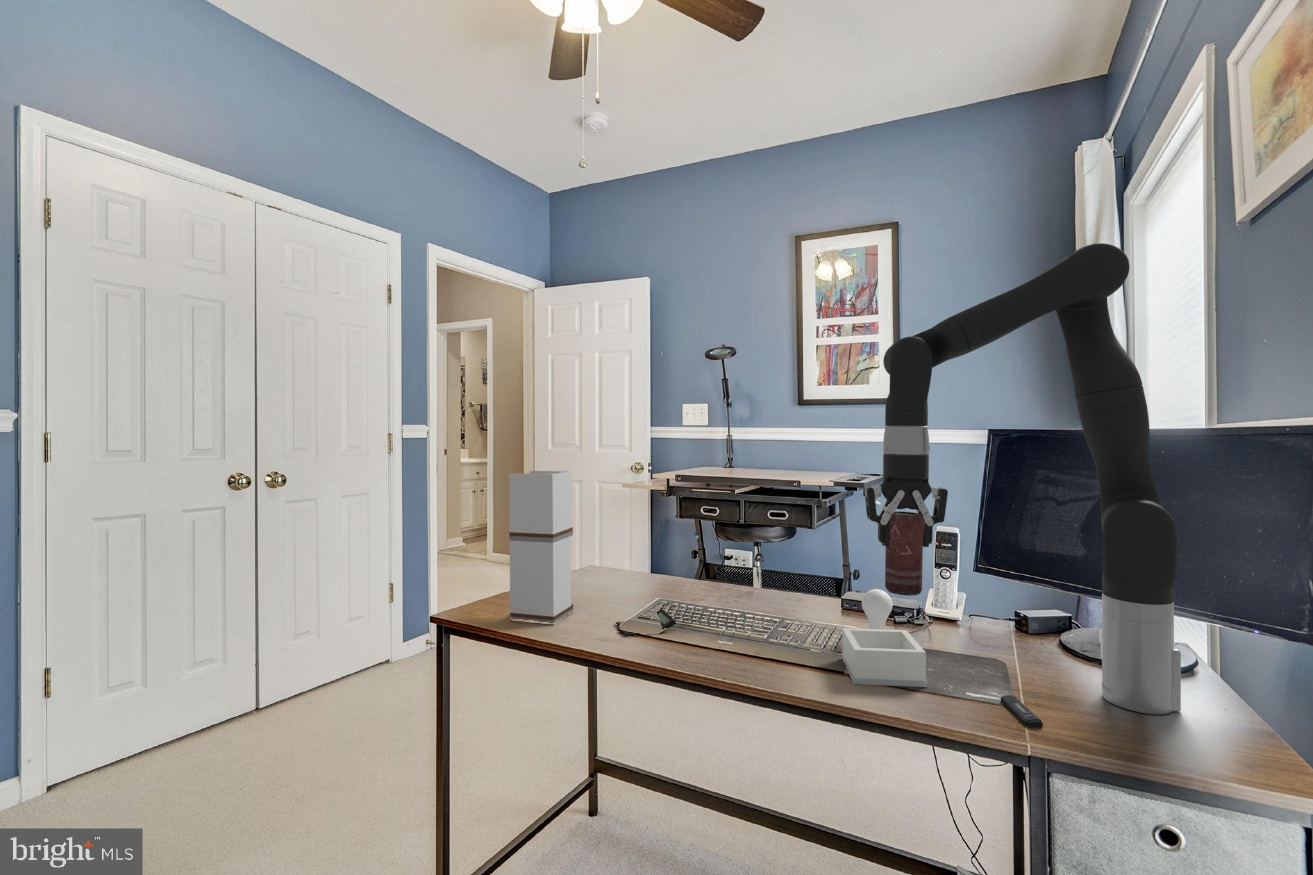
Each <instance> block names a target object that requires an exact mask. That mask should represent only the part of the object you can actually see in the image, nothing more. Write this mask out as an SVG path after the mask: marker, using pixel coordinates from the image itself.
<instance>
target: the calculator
mask: <svg viewBox="0 0 1313 875" xmlns="http://www.w3.org/2000/svg"><path fill="white" fill-rule="evenodd" d="M655 613H657V615H658V617H659V619H660V620H661V621H660V622H661V626H662V629H664V628H668V629H670V628H671V627H673V626H675V625H676V624H677V621H676V620H675V619H674V618H673V617H672V616H671V615H670V614H669V613H668V612H666V611H665V610H664V609H663V608H661V609H659V610H658V611H657V612H655ZM621 622H622V621H616V622H615V625H616V624H617V625H618V626H620V624H621ZM617 625H616V626H617ZM623 633H624V634H623ZM623 633H622V634H623V635H625V636H634V635H637V634H639V633H633V632H626V631H623ZM625 636H624V637H625ZM634 637H635V636H634Z"/></svg>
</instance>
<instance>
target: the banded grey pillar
mask: <svg viewBox="0 0 1313 875" xmlns="http://www.w3.org/2000/svg"><path fill="white" fill-rule="evenodd" d="M573 492H574V491H573V471H571V470H570V471H568V470H567V471H566V470H565V471H564V470H563V471H562V470H560V471H559V470H529V473H516V472H515V473H514V472H513V473H508V510H509V512H508V513H509V514H508V516H509V517H508V520H509V521H508V522H509V524H508V527H509V528H508V529H509V534H508V535H509V537H508V538H509V611H510V612H509V617H510V618H512V619H523V620H534V621H539V622H549V623H555V622H557V621H558V620H560V619H562V618H563V617H565V616H566V615H568V614H569V613H571V612H572V611H574V604H573V603H572V542H574V535H573V534H574V529H573V528H574V527H573V526H574V523H573V522H574V520H573V519H574V518H573V517H574V512H573V511H574V507H573V505H574V504H573V498H574V497H573V495H574V493H573ZM510 618H509V619H510Z"/></svg>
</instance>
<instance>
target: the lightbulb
mask: <svg viewBox="0 0 1313 875" xmlns="http://www.w3.org/2000/svg"><path fill="white" fill-rule="evenodd" d="M861 606H862V610H863V612H864V613H865V615H866V618H867V621H868V627H869V628H868V629H883V630H886V623H887V620H888V618H889V616H890V614H891V613H892V610H893V600H892V598H891V596H890V595H889V594H888V593H887V592H886V591H884V590H883V589H879V588H872V589H870V590H868V591H867V592H865V593H864V594H863V596H862V599H861Z"/></svg>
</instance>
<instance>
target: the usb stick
mask: <svg viewBox="0 0 1313 875" xmlns="http://www.w3.org/2000/svg"><path fill="white" fill-rule="evenodd" d="M1000 701H1001V703H1002V704H1003V705H1004V706H1005V707H1006V708H1007V709H1008V710H1009V711H1010V712H1011V713H1012V714H1014V716H1015V717H1016V718H1018V720H1020V722H1021V723H1023V725H1024V726H1025V727H1028V728H1031V729H1042V728H1043V725H1044V723H1043V721H1042V720H1041V718H1039V717H1038V716H1037V715H1036V714H1035V713H1034V712H1033V711H1032V710H1030V709H1029V708H1028V707H1027V706H1026V705H1025V704H1024V703H1022V701H1020V700H1019V699H1018V698H1017V696H1016V695H1013V694H1004V695H1003V696H1000Z"/></svg>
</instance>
